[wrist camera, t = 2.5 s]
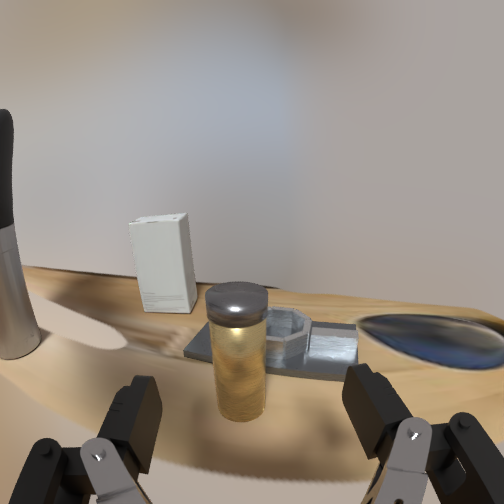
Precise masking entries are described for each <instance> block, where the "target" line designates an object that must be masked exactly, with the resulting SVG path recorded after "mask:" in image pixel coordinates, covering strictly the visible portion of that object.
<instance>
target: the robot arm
mask: <svg viewBox="0 0 504 504" xmlns="http://www.w3.org/2000/svg"><path fill="white" fill-rule="evenodd" d="M13 134H14V128H13V120H12V116H11V114H10V112H9V111H8V110H6V109H0V358H2V359H15V358H19V357H21V356H24V355H26V354H28V353H29V352H31V351H32V350H34V349H35V348H36V347H37V346H38V344H39V343H40V341H41V333H40V331H39V328H38V325H37V322H36V319H35V316H34V312H33V309H32V305H31V302H30V299H29V295H28V291H27V287H26V283H25V279H24V275H23V270H22V266H21V262H20V257H19V251H18V245H17V239H16V233H15V226H14V218H13V198H12V157H13V139H14V135H13ZM342 401H343V404H344V407H345V409H346V411H347V413H348V415H349V418H350V420H351V422H352V424H353V426H354V429H355V431H356V433H357V435H358V438H359V440H360V442H361V444H362V447H363V449H364V451H365V453H366V456H367V458H368V460H369V459H372V458H376V457H378V459H379V461H380V462H379V464H378V466H377V468H376V471H375V473H374V476H373V478H372V481H371V483H370V485H369V488H368V490H367V492H366V494H365V497H364V498H363V501H362V502H361V504H421V503H422V500H423V496H424V493H425V489H426V485H427V480H428V477H429V479H430V481H431V483H432V485H433V488H434V489H435V492H436V494H437V496H438V499H439V501H440V503H441V504H504V458H503V456H502V455H501V453H500V452H499V450H498V449H497V447H496V446H495V444H494V443H493V441H492V440H491V439H490V437H489V436H488V434H487V433H486V432H485V430H484V429H483V427H482V426H481V425H480V423H479V422H478V421H477V419H476V418H475V417H474V416H473V415H471V414H469V413H465V412H460V413H457V414H455V415H453V416H452V418H451V419H450V421H449V423H443V424H434V425H430V424H429V423H428V422H427V421H426V420H424V419H422V418H418V417H413V416H412V414H411V413H410V411H409V410H408V408H407V407H406V405H405V404H404V403H403V401H402V400H401V398H400V397H399V395H398V394H397V392H396V391H395V389H394V388H392V385H391V384H390V382H389V381H388V379H387V378H386V377H384V376H383V375H381V374H380V373H378V372H376V373H373V372H372V371H371V369H370V368H369V366H368V365H367V364H366V363H363V364H358V365H352V366H349V367H348V368H347V372H346V377H345V382H344V386H343V391H342ZM161 417H162V402H161V399H160V395H159V392H158V389H157V385H156V382H155V379H154V377H153V376H139V375H136V376H135V377H134V378H133V381H132V383H131V385H130V386H124V387H123V388H122V389H120V390H119V391H118V392H117V393H116V395H115V397H114V399H113V402H112V404H111V406H110V408H109V411H108V413H107V415H106V417H105V420H104V422H103V424H102V426H101V429H100V431H99V433H98V436H97V438H93V439H90V440H88V441H86V442H85V443H84V444H83V445H82V447H76V448H62V447H61V446H60V445H59V444H58V442H57V441H55V440H54V439H51V438H43V439H40V440H38V441H37V442H36V443H35V444H34V445H33V447H32V449H31V451H30V453H29V455H28V457H27V460H26V462H25V464H24V467H23V469H22V471H21V473H20V476H19V478H18V480H17V483H16V485H15V488H14V490H13V493H12V496H11V498H10V501H9V504H89V500H90V496H91V494H93V495H96V494H97V496H98V499H97V500H96V502H97V504H152V502H151V501H150V499H149V498H148V496H147V495H146V493H145V492H144V490H143V489H142V487H141V485H140V484H139V482H138V481H137V479H138V475H139V473H143V474H148V473H149V468H150V463H151V459H152V454H153V450H154V446H155V441H156V437H157V433H158V429H159V425H160V421H161ZM457 458H458V459H459V461H460V462H459V461H458V459H457ZM460 463H461V464H460ZM461 465H462V466H463V468H464V469H463V468H462V466H461ZM464 470H465V471H464ZM425 471H426V473H427V474H426V473H425ZM465 472H466V473H465Z"/></svg>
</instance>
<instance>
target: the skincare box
mask: <svg viewBox="0 0 504 504" xmlns="http://www.w3.org/2000/svg"><path fill="white" fill-rule="evenodd" d="M129 232H130V239H131V245H132V251H133V257H134V263H135V268H136V273H137V279H138V284H139V289H140V294H141V298H142V303H143V307H144V312H163V313H190V312H191V310H192V308H193V306H194V304H195V302H196V300H197V289H196V281H195V274H194V266H193V258H192V250H191V241H190V232H189V222H188V214H187V213H180V214H170V215H159V216H146V217H141V218H139V219H137V220H135V221H133V222H131V223H129Z"/></svg>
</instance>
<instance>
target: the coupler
mask: <svg viewBox="0 0 504 504" xmlns="http://www.w3.org/2000/svg"><path fill="white" fill-rule="evenodd" d="M205 300H206V311H207V317H208V319H209V329H210V340H211V349H212V359H213V368H214V376H215V384H216V392H217V400H218V408H219V411H220V413H221V414H222V415H223V416H224V417H225V418H227V419H229V420H231V421H235V422H247V421H251V420H254V419H256V418H257V417H259V416H260V415H261V414H262V413H263V411H264V408H265V373H266V317H267V315H268V291H267V290H266V289H265V288H264V287H263V286H261V285H258V284H255V283H250V282H227V283H222V284H218V285H215V286H213V287H211V288H210V289H208V290H207V291H206V293H205Z"/></svg>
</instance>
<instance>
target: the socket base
mask: <svg viewBox="0 0 504 504" xmlns="http://www.w3.org/2000/svg"><path fill="white" fill-rule="evenodd" d="M358 339H359V338H358V330H356V324H341V323H328V322H316V321H312V320H311V318H310V317H308V316H307V315H305V314H304V313H302V312H300V311H299V310H297V309H296V310H294V308H284V307H274V306H273V307H272V308H271V307H268V315H267V317H266V373H269V374H276V375H283V376H291V377H299V378H308V379H318V380H329V381H342V382H345V377H346V372H347V368H348V367H349V366H352V365H358V349H357V344H358ZM183 352H184V357H188V358H192V359H196V360H200V361H205V362H209V363H213V359H212V349H211V340H210V329H209V321H208V322H207V324H206V325H205V326H204V327H203V328H202V329H201V330H200V332H199V333H198V334H197V335H196V336H195V337H194V338H193V340H192V341H191V342H190V343H189V344H188V345H187V346H186V348H185V349H184V350H183Z"/></svg>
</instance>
